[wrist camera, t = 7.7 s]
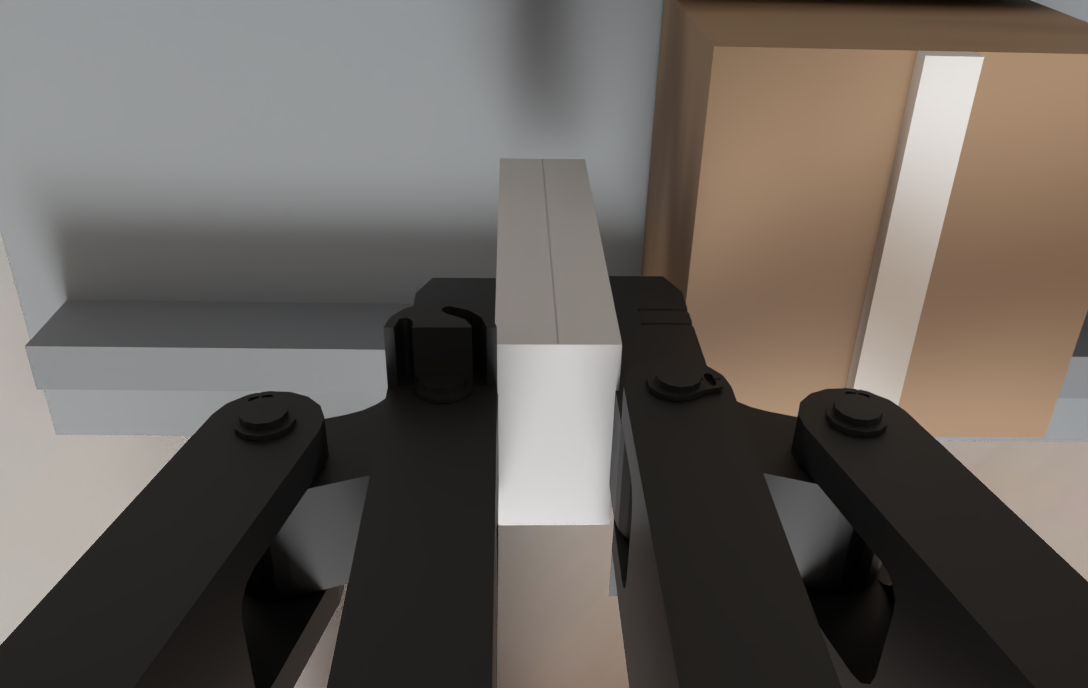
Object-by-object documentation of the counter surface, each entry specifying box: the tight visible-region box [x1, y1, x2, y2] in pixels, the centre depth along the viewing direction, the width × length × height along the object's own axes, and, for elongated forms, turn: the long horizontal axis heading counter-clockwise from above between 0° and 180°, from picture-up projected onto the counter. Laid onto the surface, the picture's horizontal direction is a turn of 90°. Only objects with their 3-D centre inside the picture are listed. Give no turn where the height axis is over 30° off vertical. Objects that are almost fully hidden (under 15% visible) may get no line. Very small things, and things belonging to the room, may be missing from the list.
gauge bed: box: [0, 0, 1088, 442], centre depth 17 cm, size 14×28×7 cm, turn 89°
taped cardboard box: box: [641, 0, 1088, 438], centre depth 17 cm, size 6×6×5 cm
